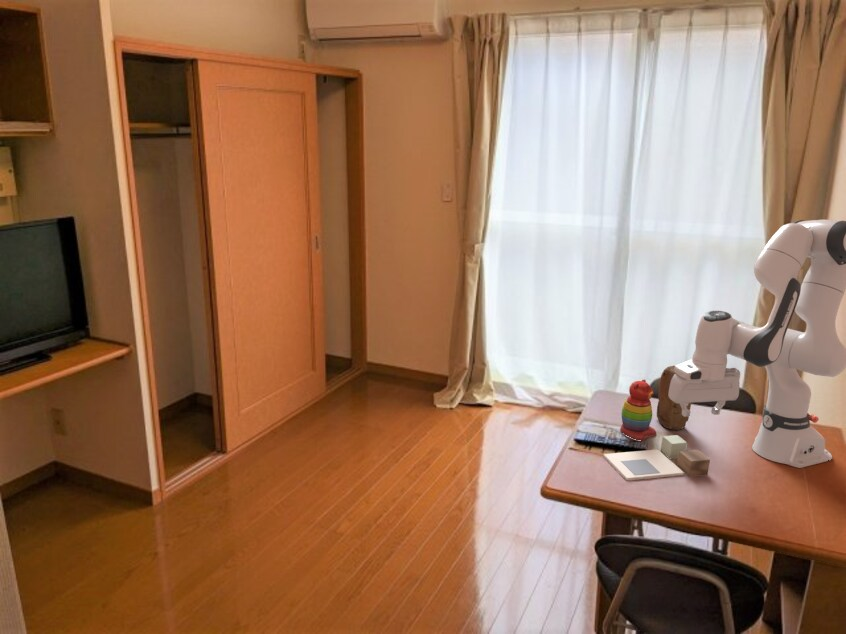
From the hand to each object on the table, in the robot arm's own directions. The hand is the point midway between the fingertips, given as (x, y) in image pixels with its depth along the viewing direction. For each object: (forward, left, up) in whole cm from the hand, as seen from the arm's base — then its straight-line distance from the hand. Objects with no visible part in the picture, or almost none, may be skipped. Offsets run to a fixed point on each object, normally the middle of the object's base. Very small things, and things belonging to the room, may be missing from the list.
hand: (700, 414), depth 188 cm
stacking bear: (+4, -25, -18) cm, 31 cm away
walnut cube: (0, 0, -18) cm, 18 cm away
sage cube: (0, -10, -18) cm, 20 cm away
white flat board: (+13, -5, -18) cm, 22 cm away
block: (-11, -29, -18) cm, 36 cm away
